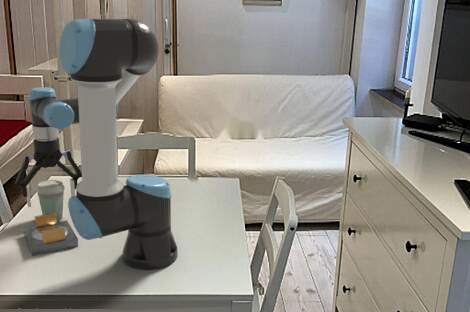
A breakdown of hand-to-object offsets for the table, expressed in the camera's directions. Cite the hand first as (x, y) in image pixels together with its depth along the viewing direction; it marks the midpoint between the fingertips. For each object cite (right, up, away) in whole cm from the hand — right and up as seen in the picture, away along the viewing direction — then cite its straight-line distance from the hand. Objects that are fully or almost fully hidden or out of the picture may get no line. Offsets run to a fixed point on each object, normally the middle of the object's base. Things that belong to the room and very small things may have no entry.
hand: (51, 202), depth 166 cm
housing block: (+4, -10, -13) cm, 17 cm away
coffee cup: (0, -6, +2) cm, 6 cm away
